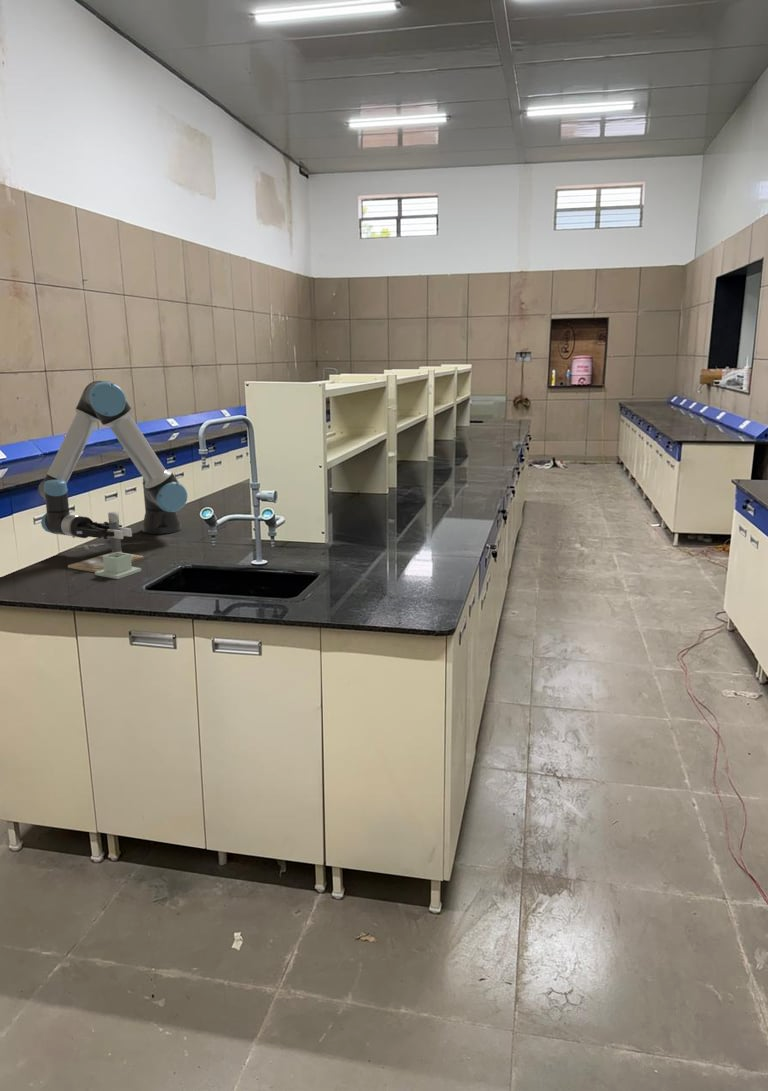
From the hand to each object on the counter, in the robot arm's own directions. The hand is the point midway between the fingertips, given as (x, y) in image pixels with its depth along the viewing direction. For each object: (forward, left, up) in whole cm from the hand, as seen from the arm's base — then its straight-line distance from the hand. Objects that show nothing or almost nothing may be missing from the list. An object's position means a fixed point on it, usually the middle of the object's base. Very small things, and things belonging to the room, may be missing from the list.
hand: (126, 533), depth 250 cm
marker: (0, -5, -8) cm, 10 cm away
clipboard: (+5, -5, -10) cm, 12 cm away
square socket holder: (+12, +8, -10) cm, 17 cm away
